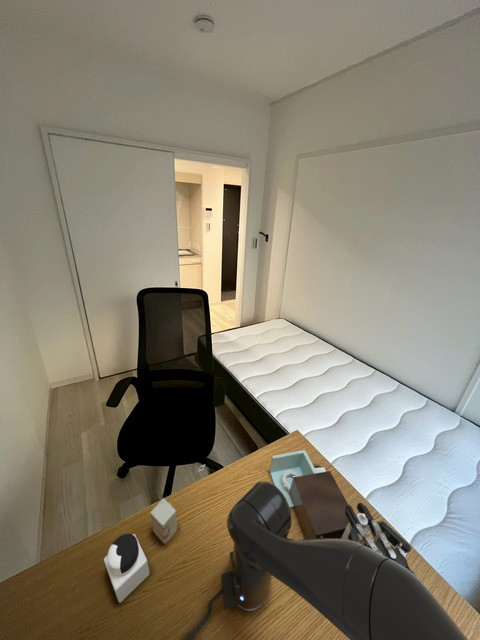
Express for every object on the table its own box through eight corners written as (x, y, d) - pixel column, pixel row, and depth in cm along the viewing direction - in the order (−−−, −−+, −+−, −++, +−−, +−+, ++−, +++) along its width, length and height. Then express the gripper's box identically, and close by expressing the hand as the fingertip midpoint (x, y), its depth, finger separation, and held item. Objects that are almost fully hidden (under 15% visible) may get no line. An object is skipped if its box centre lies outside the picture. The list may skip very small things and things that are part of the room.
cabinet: (351, 540, 68) (359, 524, 64) (310, 551, 65) (316, 535, 61) (324, 486, 80) (329, 470, 77) (288, 493, 78) (293, 477, 74)
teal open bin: (269, 470, 84) (272, 456, 81) (301, 464, 87) (304, 449, 84) (283, 508, 73) (287, 494, 70) (318, 500, 76) (323, 485, 73)
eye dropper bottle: (365, 556, 57) (381, 528, 52) (341, 553, 57) (354, 525, 52) (358, 534, 61) (372, 505, 56) (335, 531, 61) (347, 503, 56)
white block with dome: (137, 546, 63) (131, 521, 58) (150, 574, 59) (145, 549, 53) (108, 572, 58) (99, 547, 53) (119, 604, 54) (111, 580, 49)
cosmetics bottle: (152, 532, 66) (149, 511, 62) (165, 517, 69) (163, 496, 65) (165, 546, 63) (162, 526, 59) (178, 530, 67) (176, 509, 62)
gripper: (455, 594, 42) (382, 490, 57) (388, 618, 39) (330, 502, 54) (438, 612, 45) (373, 509, 61) (374, 635, 42) (323, 521, 57)
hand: (353, 506), depth 57 cm, fingers closed on eye dropper bottle, 2 cm apart
